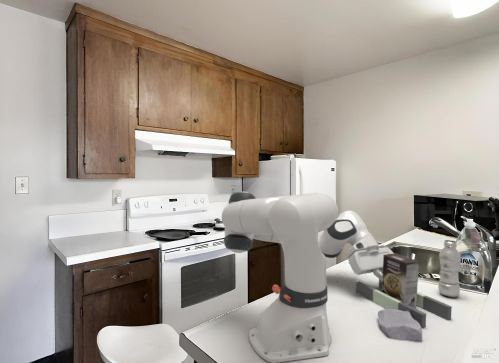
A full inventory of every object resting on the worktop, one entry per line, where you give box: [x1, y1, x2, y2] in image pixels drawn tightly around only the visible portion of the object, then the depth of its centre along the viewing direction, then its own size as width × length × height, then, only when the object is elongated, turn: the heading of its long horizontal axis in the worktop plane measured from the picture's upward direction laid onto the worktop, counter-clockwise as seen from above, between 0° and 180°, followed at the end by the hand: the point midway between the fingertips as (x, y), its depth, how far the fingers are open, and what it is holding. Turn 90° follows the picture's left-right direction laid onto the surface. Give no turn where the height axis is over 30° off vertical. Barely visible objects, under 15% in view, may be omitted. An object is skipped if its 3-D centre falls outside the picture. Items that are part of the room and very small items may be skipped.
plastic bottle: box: [437, 239, 462, 298], centre depth 103 cm, size 6×7×20 cm
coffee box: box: [381, 252, 420, 309], centre depth 96 cm, size 9×6×16 cm
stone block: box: [377, 308, 423, 342], centre depth 81 cm, size 12×5×10 cm
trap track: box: [355, 278, 453, 329], centre depth 96 cm, size 13×26×4 cm, turn 23°
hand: (386, 281), depth 101 cm, fingers closed, pressing on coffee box
